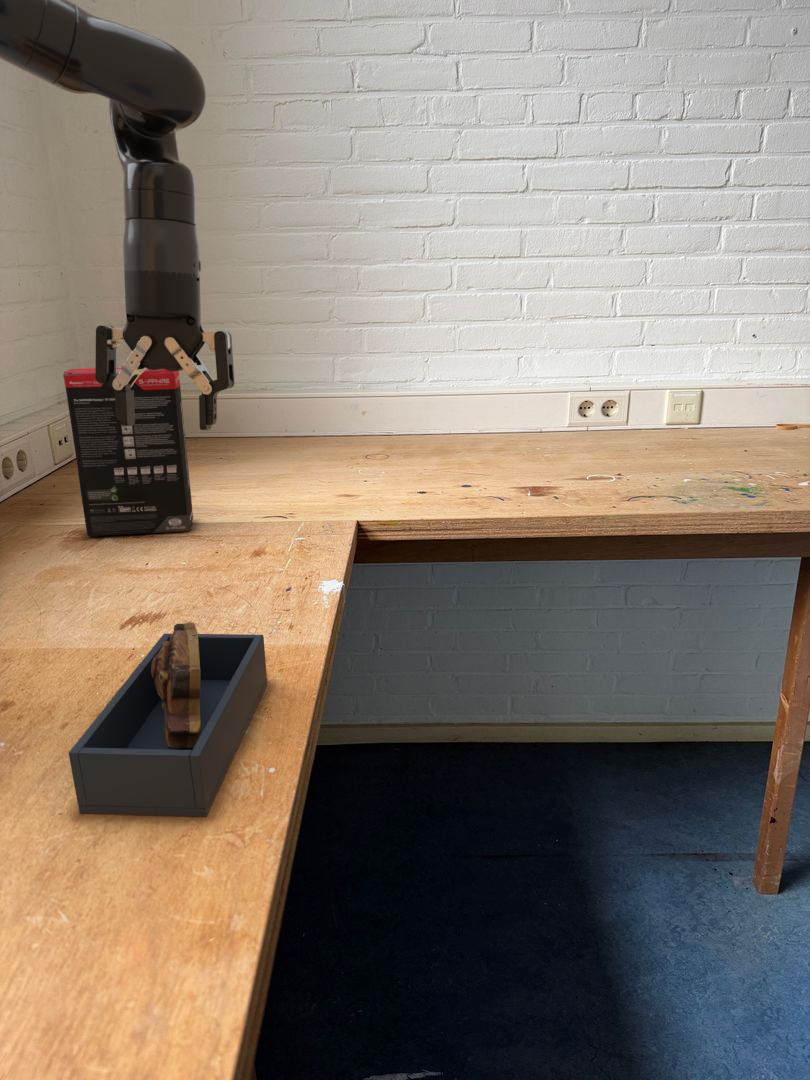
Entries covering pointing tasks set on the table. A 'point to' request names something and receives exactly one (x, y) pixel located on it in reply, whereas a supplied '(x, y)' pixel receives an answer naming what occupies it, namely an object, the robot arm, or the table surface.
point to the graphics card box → (130, 455)
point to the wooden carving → (179, 686)
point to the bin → (139, 735)
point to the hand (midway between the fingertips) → (167, 427)
